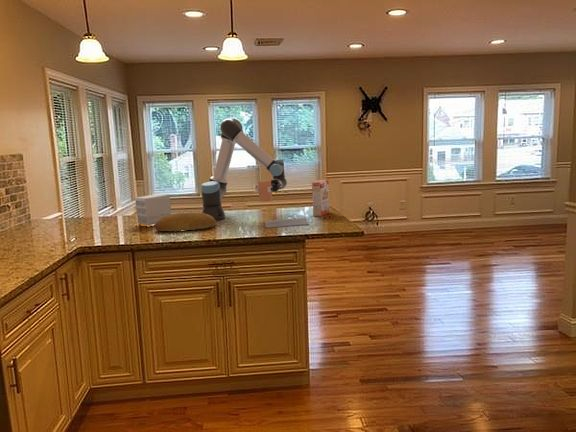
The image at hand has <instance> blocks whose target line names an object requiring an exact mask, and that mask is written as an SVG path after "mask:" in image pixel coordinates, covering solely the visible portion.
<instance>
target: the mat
mask: <svg viewBox="0 0 576 432" xmlns="http://www.w3.org/2000/svg"><path fill="white" fill-rule="evenodd" d="M264 223H265V224H264V225H265V226H264V228H265V229H272V228H283V227H284V228H285V227H299V226H309V225H310V224H309V222H308V220H307V218H306V217H301V218H290V219H289V218H288V219H276V220H275V219H273V220H272V219H271V220H265V222H264Z"/></svg>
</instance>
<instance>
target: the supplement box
mask: <svg viewBox="0 0 576 432" xmlns="http://www.w3.org/2000/svg"><path fill="white" fill-rule="evenodd" d="M170 196H171V195H170V194H168V193H166V194H165V193H154V194H149V195H144V196H138V197H137V196H136V197H135V198H134V201H135V207H136V215H137V223H138V222H139V223H143V224H146V225H150V224H156V223H157V221H158V220H159V219H160V218H162V217H164V216H167V215H170V214H173V213H172V204H171V197H170Z"/></svg>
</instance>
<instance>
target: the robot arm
mask: <svg viewBox="0 0 576 432" xmlns="http://www.w3.org/2000/svg"><path fill="white" fill-rule="evenodd" d="M219 128H220V132H221V133H220V138H221V139H220V140H221V144H220V147H219V151H218V156H217V159H216V164H215V167H214V172H213V175H212V176H210V177H209V181H207V182H203V183H202V184H201V185H200V192H201V199H202V201H201V202H202V212H201V213H205V214H208V215H210V216H212V217H213V218H214V219H215V220H217V221H221V220H222V221H223V220H224V219H225V218H226V214H225V211H224V209H223V206H222V199H223V198H224V197H225V195H226V193H227V186H228V180H227V176H228V173H229V169H230V166H231V165H230V164H231V161H232V158H233V157H232V156H233V153H234V150H235V145H236V144H237V146H239V147H241V148H242V149H243V151H245V152H246V153H247V154H249V155H250V156H251V157H252V158H253V159H254V160H255V161H257V163H259V164H260V165H262V167H264V169H266V170H267V171H268V172H269V173H270V174H271V176H272V178H273V179H271V180H270V181H271V187H268V192H271V191H272V193H275V192H278V191H279V190H283V189H284V188H285V187H286V186H287V184H288V181H287V179H286V176H285V162H284V159H282V158H281V159H280V158H277V159H274V157H272V156H270V154H268V153H267V152H266V151H265V150H264V149H262V147H260V146H259V145H258V144H257V143H256V142H255V141H253V140H252V138H250V137H249V136H248V135H246V134H245V133H244V130H243V124H242V122H241V121H239V120H238V119H237V118H231V117H230V118H228V117H227V118H225V119H223V120H222V121H221V124H220V127H219ZM254 190H255V194H257V193H259V189H258V185H257V186H255V188H254Z"/></svg>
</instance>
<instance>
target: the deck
mask: <svg viewBox="0 0 576 432" xmlns="http://www.w3.org/2000/svg"><path fill="white" fill-rule="evenodd" d="M257 186H258V189H259V192H258V200H259V202H260V203H261V202H272V201H273V192H272V191H271V192H268V187H271V180H259V181H257Z"/></svg>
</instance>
